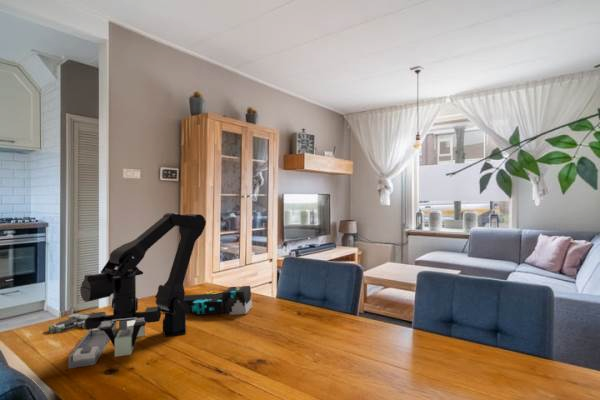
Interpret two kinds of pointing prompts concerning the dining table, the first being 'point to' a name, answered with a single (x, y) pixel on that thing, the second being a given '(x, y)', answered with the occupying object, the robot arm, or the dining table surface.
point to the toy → (221, 301)
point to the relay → (131, 324)
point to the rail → (89, 343)
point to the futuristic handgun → (69, 323)
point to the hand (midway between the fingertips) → (124, 347)
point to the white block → (123, 324)
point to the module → (124, 342)
